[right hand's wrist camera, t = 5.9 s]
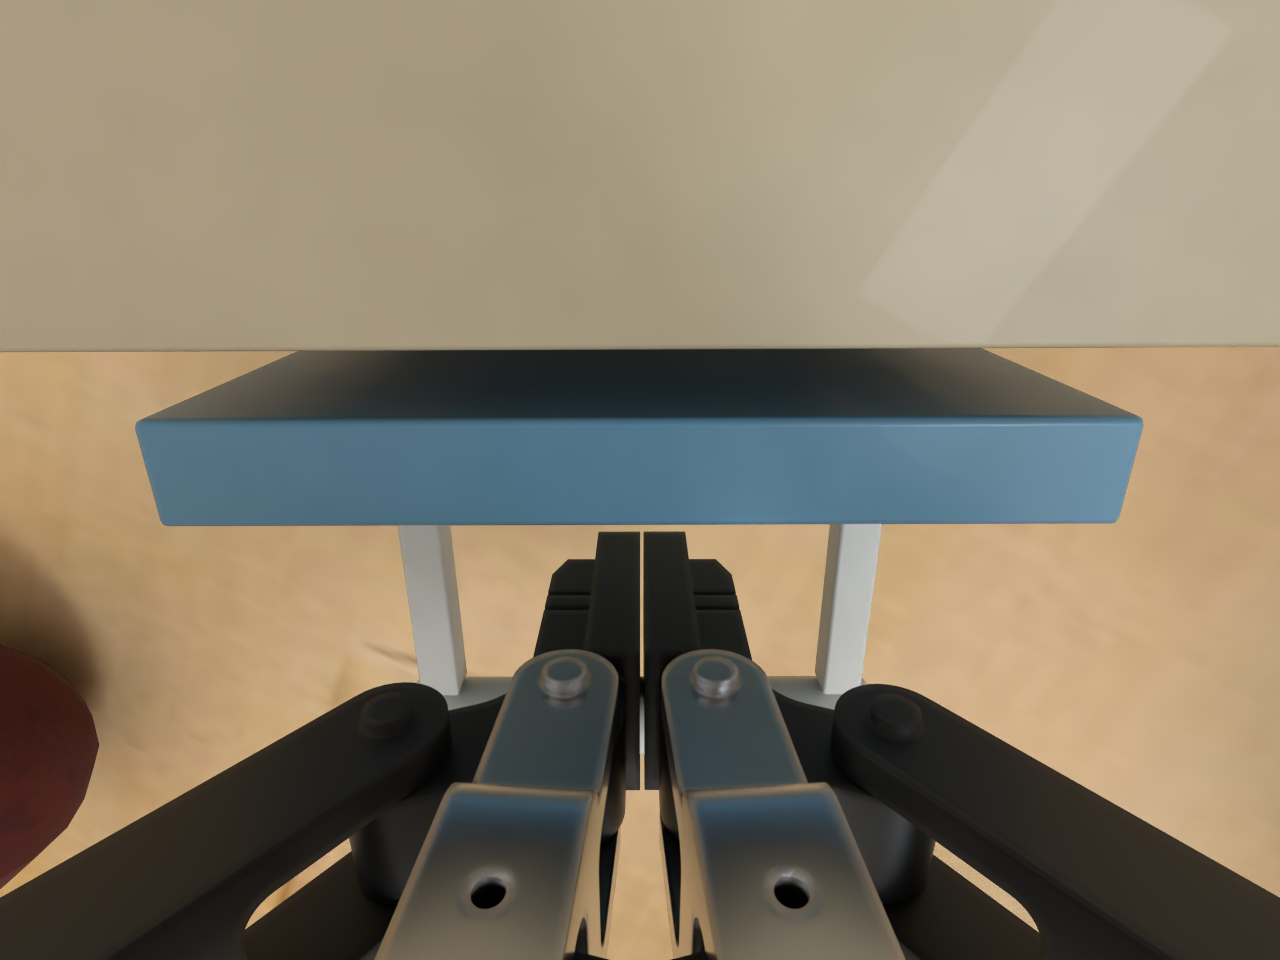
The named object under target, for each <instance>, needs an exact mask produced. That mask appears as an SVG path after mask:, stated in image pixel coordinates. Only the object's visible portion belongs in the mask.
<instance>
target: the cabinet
mask: <svg viewBox="0 0 1280 960" xmlns="http://www.w3.org/2000/svg"><path fill="white" fill-rule="evenodd" d="M1109 347H1280V0H0V352H141V351H383V350H625V349H867V348H1109Z"/></svg>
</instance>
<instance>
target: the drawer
mask: <svg viewBox="0 0 1280 960" xmlns="http://www.w3.org/2000/svg"><path fill="white" fill-rule="evenodd" d="M135 429H136V433H137V437H138V440H139V444H140V448H141V451H142V455H143V458H144V462H145V466H146V469H147V473H148V477H149V480H150V484H151V487H152V491H153V495H154V498H155V502H156V506H157V509H158V513H159V516H160V520H161V522H162V523H163V524H164V525H167V526H344V525H398V531H399V538H400V545H401V552H402V559H403V566H404V573H405V580H406V587H407V594H408V601H409V608H410V615H411V622H412V629H413V636H414V643H415V650H416V657H417V664H418V671H419V678H420V679H419V680H418V681H417V683H418V684H423V685H427V686H430V687H432V688H434V689H436V690H437V691H438V692H440V693H441V694H442V695H443V697H444V698H445V699H446V702H447V705H448V710H453V709H457V708H462V707H466V706H471V705H475V704H479V703H483V702H487V701H490V700H492V699H495V698H497V697H499V696H501V695H503V694H505V693H507V691H508V688H509V685H510V683H511V680H512V678H513V677H465V676H466V673H467V670H466V661H465V652H464V643H463V634H462V625H461V616H460V607H459V599H458V590H457V581H456V572H455V563H454V554H453V545H452V537H451V528H450V525H687V524H830V530H829V539H828V549H827V559H826V569H825V578H824V588H823V598H822V608H821V618H820V627H819V637H818V647H817V657H816V666H815V673H816V676H767V678H768V680H769V683H770V685H771V688H772V689H773V690H775V691H777V692H778V693H780V694H782V695H784V696H786V697H788V698H791V699H794V700H796V701H799V702H803V703H807V704H811V705H816V706H820V707H824V708H829V709H833V710H835V705H836V702H837V700H838V699H839V698H840V696H841V695H842V694H844V693H845V692H846V691H848V690H850V689H852V688H854V687H858V686H861V685H867V684H866V682H865V681H864V679H863V678H862V672H863V664H864V657H865V649H866V641H867V634H868V626H869V619H870V611H871V603H872V596H873V588H874V581H875V573H876V565H877V558H878V550H879V543H880V535H881V527H882V524H1029V523H1114V522H1116V521H1117V520H1118V518H1119V515H1120V512H1121V508H1122V504H1123V500H1124V497H1125V493H1126V489H1127V485H1128V481H1129V478H1130V474H1131V470H1132V466H1133V463H1134V459H1135V455H1136V451H1137V447H1138V444H1139V440H1140V436H1141V432H1142V429H1143V420H1142V418H1141V417H1139V416H1136V415H1134V414H1132V413H1130V412H1127V411H1125V410H1123V409H1120V408H1118V407H1116V406H1113V405H1111V404H1109V403H1106V402H1104V401H1102V400H1100V399H1097V398H1095V397H1093V396H1090V395H1088V394H1086V393H1083V392H1081V391H1079V390H1076V389H1074V388H1072V387H1070V386H1067V385H1065V384H1063V383H1060V382H1058V381H1056V380H1053V379H1051V378H1049V377H1046V376H1044V375H1042V374H1040V373H1037V372H1035V371H1033V370H1030V369H1028V368H1026V367H1023V366H1021V365H1019V364H1017V363H1014V362H1012V361H1010V360H1007V359H1005V358H1003V357H1000V356H998V355H996V354H993V353H991V352H989V351H987V350H984V349H982V348H867V349H625V350H383V351H298V352H295V353H293V354H291V355H288V356H286V357H284V358H281V359H279V360H277V361H275V362H272V363H270V364H268V365H265V366H263V367H261V368H259V369H256V370H254V371H252V372H249V373H247V374H245V375H242V376H240V377H238V378H236V379H233V380H231V381H229V382H226V383H224V384H222V385H219V386H217V387H215V388H213V389H210V390H208V391H206V392H203V393H201V394H199V395H196V396H194V397H192V398H190V399H187V400H185V401H183V402H180V403H178V404H176V405H173V406H171V407H169V408H167V409H164V410H162V411H160V412H157V413H155V414H153V415H151V416H148V417H146V418H144V419H141V420H139V421H138V422H137V423H136V428H135ZM640 754H644V677H640Z"/></svg>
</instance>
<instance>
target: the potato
mask: <svg viewBox="0 0 1280 960" xmlns="http://www.w3.org/2000/svg"><path fill="white" fill-rule="evenodd" d="M98 748H99V742H98V738H97V734H96V730H95V725H94V721H93V717H92V714H91V713H90V711H89V709H88V707H87V705H86V703H85V701H84V700H83V699H82V697H81V696H80V695H79V693H78V692H77V691H76V689H75V688H74V687H73V685H72V684H71V683H70V681H69V680H67V679H66V678H65V677H63V676H62V675H61V674H59V673H58V672H57V671H55V670H54V669H53V668H51V667H50V666H49V665H47V664H45V663H43V662H41V661H39V660H37V659H35V658H33V657H30V656H28V655H26V654H24V653H22V652H19V651H16V650H14V649H11V648H8V647H5V646H2V645H0V889H1V888H2V887H3V886H4V885H6V884H7V883H8V882H9V881H10V880H11V879H12V878H13V877H14V876H16V875H17V874H18V873H19V872H20V871H21V870H22V869H23V868H24V867H26V866H27V865H28V864H29V863H30V862H31V861H32V860H33V859H34V858H35V857H37V856H38V855H39V854H40V853H41V852H42V851H43V850H44V849H45V848H46V847H47V846H48V845H49V844H50V843H51V842H52V841H53V840H54V839H56V838H57V837H58V836H59V835H60V834H61V833H62V832H63V831H64V830H65V829H66V828H67V827H68V825H69V824H70V822H71V820H72V819H73V817H74V815H75V813H76V812H77V810H78V808H79V807H80V805H81V803H82V802H83V800H84V798H85V794H86V791H87V788H88V784H89V781H90V778H91V774H92V771H93V767H94V764H95V760H96V756H97V752H98Z"/></svg>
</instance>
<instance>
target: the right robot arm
mask: <svg viewBox="0 0 1280 960" xmlns="http://www.w3.org/2000/svg"><path fill="white" fill-rule="evenodd" d="M643 637H644V770H645V790H659V799H660V850H661V858H662V867H663V875H664V883H665V892H666V900H667V908H668V917H669V925H670V934H671V942H672V950H673V959H672V960H1280V898H1279V897H1277V896H1276V895H1274V894H1272V893H1270V892H1269V891H1267V890H1265V889H1263V888H1262V887H1260V886H1258V885H1256V884H1254V883H1253V882H1251V881H1249V880H1247V879H1246V878H1244V877H1242V876H1240V875H1239V874H1237V873H1235V872H1233V871H1232V870H1230V869H1228V868H1226V867H1224V866H1223V865H1221V864H1219V863H1217V862H1216V861H1214V860H1212V859H1210V858H1209V857H1207V856H1205V855H1203V854H1202V853H1200V852H1198V851H1196V850H1195V849H1193V848H1191V847H1189V846H1187V845H1186V844H1184V843H1182V842H1180V841H1179V840H1177V839H1175V838H1173V837H1172V836H1170V835H1168V834H1166V833H1165V832H1163V831H1161V830H1159V829H1157V828H1156V827H1154V826H1152V825H1150V824H1149V823H1147V822H1145V821H1143V820H1142V819H1140V818H1138V817H1136V816H1135V815H1133V814H1131V813H1129V812H1128V811H1126V810H1124V809H1122V808H1120V807H1119V806H1117V805H1115V804H1113V803H1112V802H1110V801H1108V800H1106V799H1105V798H1103V797H1101V796H1099V795H1098V794H1096V793H1094V792H1092V791H1090V790H1089V789H1087V788H1085V787H1083V786H1082V785H1080V784H1078V783H1076V782H1075V781H1073V780H1071V779H1069V778H1068V777H1066V776H1064V775H1062V774H1061V773H1059V772H1057V771H1055V770H1053V769H1052V768H1050V767H1048V766H1046V765H1045V764H1043V763H1041V762H1039V761H1038V760H1036V759H1034V758H1032V757H1031V756H1029V755H1027V754H1025V753H1023V752H1022V751H1020V750H1018V749H1016V748H1015V747H1013V746H1011V745H1009V744H1008V743H1006V742H1004V741H1002V740H1001V739H999V738H997V737H995V736H993V735H992V734H990V733H988V732H986V731H985V730H983V729H981V728H979V727H978V726H976V725H974V724H972V723H971V722H969V721H967V720H965V719H964V718H962V717H960V716H958V715H956V714H955V713H953V712H951V711H949V710H948V709H946V708H944V707H942V706H941V705H939V704H937V703H935V702H934V701H932V700H930V699H928V698H926V697H924V696H923V695H921V694H919V693H916V692H914V691H911V690H908V689H905V688H902V687H898V686H892V685H885V684H867V685H861V686H858V687H854V688H852V689H850V690H848V691H846V692H845V693H844V694H842V695H841V696H840V698H839V699H838V700H837V702H836V705H835V710H833V709H829V708H824V707H820V706H816V705H811V704H807V703H803V702H799V701H796V700H794V699H791V698H788V697H786V696H784V695H782V694H780V693H778V692H777V691H775V690H773V689H772V688H771V685H770V683H769V680H768V678H767V676H766V674H765V672H764V671H763V670H762V669H761V667H759V666H758V665H757V664H756V663H755V662H753V661H752V658H751V654H750V649H749V645H748V641H747V637H746V633H745V629H744V625H743V620H742V616H741V612H740V610H739V604H738V600H737V596H736V591H735V587H734V583H733V579H732V575H731V573H729V572H728V571H727V570H726V569H725V568H724V567H723V566H722V565H721V564H720V563H719V562H718V561H717V560H716V559H689V558H688V551H687V543H686V536H685V532H644V597H643ZM626 790H640V532H599V534H598V542H597V550H596V558H595V559H568V560H567V561H566V562H565V563H564V564H563V565H562V566H561V567H560V568H559V569H558V570H557V571H556V572H555V573H553V574H552V579H551V583H550V587H549V591H548V596H547V600H546V604H545V610H544V613H543V617H542V622H541V626H540V630H539V635H538V639H537V643H536V648H535V652H534V656H533V658H532V659H530V660H528V661H527V662H525V663H524V664H523V665H522V666H521V667H519V669H518V670H517V671H516V672H515V674H514V676H513V678H512V680H511V683H510V685H509V688H508V691H507V693H505V694H503V695H501V696H499V697H497V698H495V699H492V700H490V701H487V702H483V703H479V704H475V705H471V706H466V707H462V708H457V709H453V710H448V705H447V702H446V699H445V698H444V697H443V695H442V694H441V693H440V692H438V691H437V690H436V689H434V688H432V687H430V686H427V685H423V684H418V683H406V682H404V683H393V684H387V685H383V686H379V687H376V688H373V689H370V690H368V691H365V692H363V693H361V694H359V695H357V696H355V697H354V698H352V699H350V700H348V701H346V702H345V703H343V704H341V705H339V706H338V707H336V708H334V709H332V710H331V711H329V712H327V713H325V714H324V715H322V716H320V717H318V718H317V719H315V720H313V721H311V722H309V723H308V724H306V725H304V726H302V727H301V728H299V729H297V730H295V731H294V732H292V733H290V734H288V735H287V736H285V737H283V738H281V739H279V740H278V741H276V742H274V743H272V744H271V745H269V746H267V747H265V748H264V749H262V750H260V751H258V752H257V753H255V754H253V755H251V756H249V757H248V758H246V759H244V760H242V761H241V762H239V763H237V764H235V765H234V766H232V767H230V768H228V769H227V770H225V771H223V772H221V773H220V774H218V775H216V776H214V777H212V778H211V779H209V780H207V781H205V782H204V783H202V784H200V785H198V786H197V787H195V788H193V789H191V790H190V791H188V792H186V793H184V794H182V795H181V796H179V797H177V798H175V799H174V800H172V801H170V802H168V803H167V804H165V805H163V806H161V807H160V808H158V809H156V810H154V811H153V812H151V813H149V814H147V815H145V816H144V817H142V818H140V819H138V820H137V821H135V822H133V823H131V824H130V825H128V826H126V827H124V828H123V829H121V830H119V831H117V832H115V833H114V834H112V835H110V836H108V837H107V838H105V839H103V840H101V841H100V842H98V843H96V844H94V845H93V846H91V847H89V848H87V849H86V850H84V851H82V852H80V853H78V854H77V855H75V856H73V857H71V858H70V859H68V860H66V861H64V862H63V863H61V864H59V865H57V866H56V867H54V868H52V869H50V870H48V871H47V872H45V873H43V874H41V875H40V876H38V877H36V878H34V879H33V880H31V881H29V882H27V883H26V884H24V885H22V886H20V887H18V888H17V889H15V890H13V891H11V892H10V893H8V894H6V895H4V896H3V897H1V898H0V960H608V959H607V951H608V942H609V934H610V926H611V917H612V909H613V900H614V892H615V884H616V875H617V867H618V859H619V850H620V836H621V835H620V825H621V824H622V821H623V818H624V814H625V793H626ZM348 838H349V840H350V844H351V849H352V851H351V852H350V853H348V854H347V855H346V856H344V857H343V858H342V859H340V860H339V861H338V862H336V863H335V864H333V865H332V866H331V867H329V868H328V869H327V870H325V871H324V872H323V873H321V874H320V875H319V876H317V877H316V878H315V879H313V880H312V881H310V882H309V883H308V884H306V885H305V886H304V887H302V888H301V889H300V890H298V891H297V892H296V893H294V894H293V895H292V896H290V897H289V898H287V899H286V900H285V901H283V902H282V903H281V904H279V905H278V906H277V907H275V908H274V909H273V910H271V911H270V912H269V913H267V914H266V915H264V916H263V917H262V918H260V919H259V920H258V921H256V922H255V923H254V924H252V925H251V926H250V927H248V928H247V929H246V930H245V928H246V925H247V923H248V921H249V919H250V917H251V916H252V914H253V913H254V911H255V910H256V909H257V907H258V906H259V905H260V904H261V903H262V902H263V901H264V900H265V899H266V898H267V897H268V896H269V895H271V894H272V893H273V892H274V891H276V890H277V889H278V888H280V887H281V886H283V885H284V884H285V883H287V882H288V881H290V880H291V879H292V878H294V877H295V876H296V875H298V874H299V873H301V872H302V871H303V870H305V869H306V868H308V867H309V866H310V865H312V864H313V863H314V862H316V861H317V860H319V859H320V858H321V857H323V856H324V855H326V854H327V853H328V852H330V851H331V850H333V849H334V848H335V847H337V846H338V845H339V844H341V843H342V842H344V841H345V840H346V839H348ZM935 842H938V843H939V844H941V845H942V846H943V847H945V848H946V849H948V850H949V851H950V852H952V853H953V854H954V855H956V856H957V857H959V858H960V859H961V860H963V861H964V862H966V863H967V864H968V865H970V866H971V867H972V868H974V869H975V870H977V871H978V872H979V873H981V874H982V875H984V876H985V877H986V878H988V879H989V880H990V881H992V882H993V883H995V884H996V885H997V886H999V887H1000V888H1002V889H1003V890H1004V891H1006V892H1007V893H1008V894H1010V895H1011V896H1012V897H1014V898H1015V899H1016V900H1017V901H1018V902H1019V903H1020V904H1021V905H1022V906H1023V907H1024V908H1025V909H1026V910H1027V911H1028V913H1029V914H1030V916H1031V917H1032V918H1033V920H1034V922H1035V924H1036V925H1037V928H1038V930H1039V932H1037V931H1036V930H1035V929H1033V928H1032V927H1030V926H1029V925H1028V924H1026V923H1025V922H1024V921H1022V920H1021V919H1020V918H1018V917H1017V916H1016V915H1014V914H1013V913H1012V912H1010V911H1009V910H1007V909H1006V908H1005V907H1003V906H1002V905H1001V904H999V903H998V902H997V901H995V900H994V899H993V898H991V897H990V896H989V895H987V894H986V893H984V892H983V891H982V890H980V889H979V888H978V887H976V886H975V885H974V884H972V883H971V882H970V881H968V880H967V879H966V878H964V877H963V876H961V875H960V874H959V873H957V872H956V871H955V870H953V869H952V868H951V867H949V866H948V865H947V864H945V863H944V862H942V861H941V860H940V859H938V858H937V857H936V856H934V855H933V851H934V846H935Z"/></svg>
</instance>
